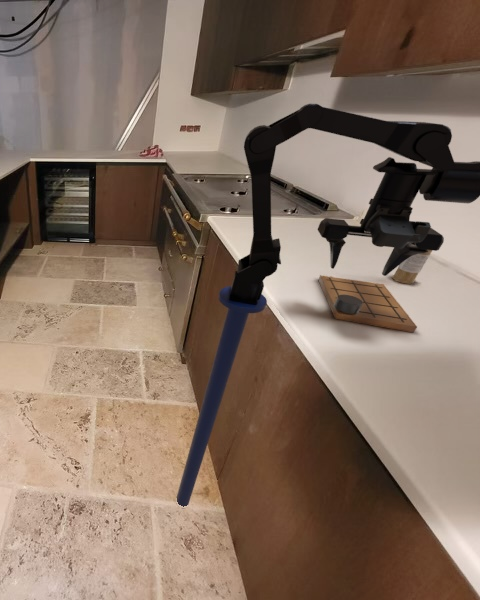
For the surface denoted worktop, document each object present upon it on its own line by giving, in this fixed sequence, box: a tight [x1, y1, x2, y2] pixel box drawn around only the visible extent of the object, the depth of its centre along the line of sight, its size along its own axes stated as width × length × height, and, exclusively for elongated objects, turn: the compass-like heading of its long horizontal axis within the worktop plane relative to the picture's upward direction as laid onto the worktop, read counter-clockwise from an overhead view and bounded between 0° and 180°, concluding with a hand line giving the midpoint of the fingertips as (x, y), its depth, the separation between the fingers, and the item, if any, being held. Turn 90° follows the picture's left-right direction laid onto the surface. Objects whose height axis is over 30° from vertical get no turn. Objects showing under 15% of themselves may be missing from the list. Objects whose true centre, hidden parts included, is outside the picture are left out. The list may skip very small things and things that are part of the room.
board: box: [317, 275, 418, 333], centre depth 77 cm, size 14×20×2 cm
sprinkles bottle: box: [392, 250, 433, 285], centre depth 84 cm, size 5×5×14 cm
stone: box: [334, 295, 363, 314], centre depth 72 cm, size 5×5×2 cm
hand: (357, 271), depth 69 cm, fingers open, 9 cm apart
